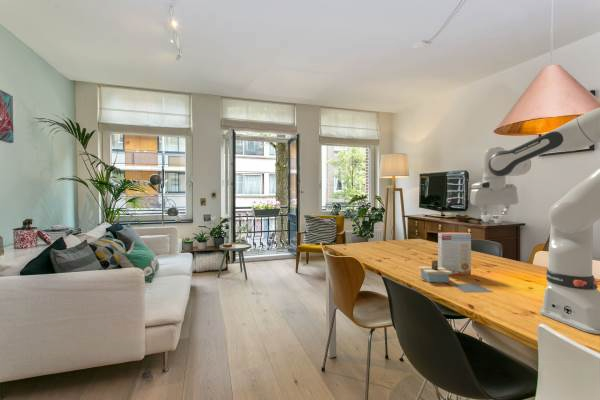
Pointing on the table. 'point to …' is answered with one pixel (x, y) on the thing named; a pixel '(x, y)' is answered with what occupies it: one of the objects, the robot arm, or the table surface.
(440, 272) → the lid
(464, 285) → the mat
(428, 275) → the blue square tray
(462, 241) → the cracker box
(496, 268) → the table surface
